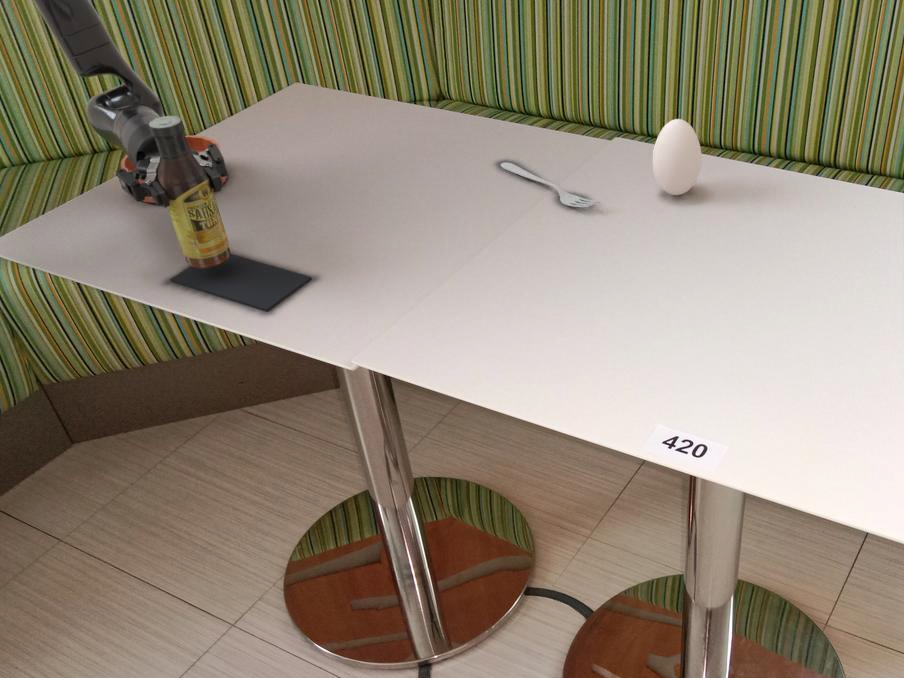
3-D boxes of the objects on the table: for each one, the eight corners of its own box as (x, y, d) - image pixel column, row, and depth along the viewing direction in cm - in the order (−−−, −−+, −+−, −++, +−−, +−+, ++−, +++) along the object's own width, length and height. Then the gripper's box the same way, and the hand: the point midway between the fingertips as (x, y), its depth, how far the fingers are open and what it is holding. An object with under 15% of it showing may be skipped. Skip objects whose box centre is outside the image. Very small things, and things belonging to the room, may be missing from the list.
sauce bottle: (212, 274, 133) (163, 137, 119) (177, 266, 135) (124, 129, 121) (243, 251, 137) (199, 115, 124) (208, 243, 139) (161, 108, 126)
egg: (709, 195, 150) (713, 121, 142) (671, 209, 147) (672, 134, 139) (681, 178, 154) (682, 105, 147) (643, 191, 152) (642, 118, 144)
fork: (510, 160, 161) (508, 150, 160) (603, 211, 147) (603, 200, 146) (494, 166, 160) (493, 156, 159) (587, 218, 146) (586, 207, 145)
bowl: (132, 213, 152) (120, 183, 149) (132, 173, 163) (121, 145, 159) (231, 195, 156) (222, 165, 152) (225, 157, 166) (216, 129, 163)
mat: (170, 282, 136) (169, 279, 136) (217, 252, 142) (216, 249, 141) (267, 312, 129) (266, 309, 129) (312, 279, 135) (311, 276, 135)
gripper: (93, 137, 132) (125, 182, 122) (197, 109, 138) (236, 150, 128) (113, 187, 137) (146, 235, 127) (213, 159, 143) (252, 202, 133)
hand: (191, 192), depth 127 cm, fingers closed on sauce bottle, 6 cm apart
